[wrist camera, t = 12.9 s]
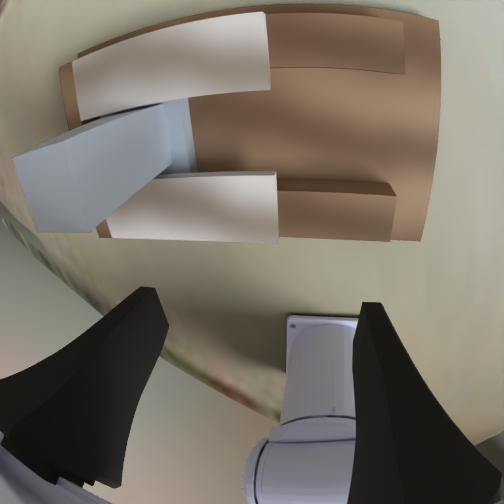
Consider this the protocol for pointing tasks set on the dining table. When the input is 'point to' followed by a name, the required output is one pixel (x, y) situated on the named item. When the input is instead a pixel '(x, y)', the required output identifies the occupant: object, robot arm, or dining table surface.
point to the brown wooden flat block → (278, 121)
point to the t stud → (104, 164)
